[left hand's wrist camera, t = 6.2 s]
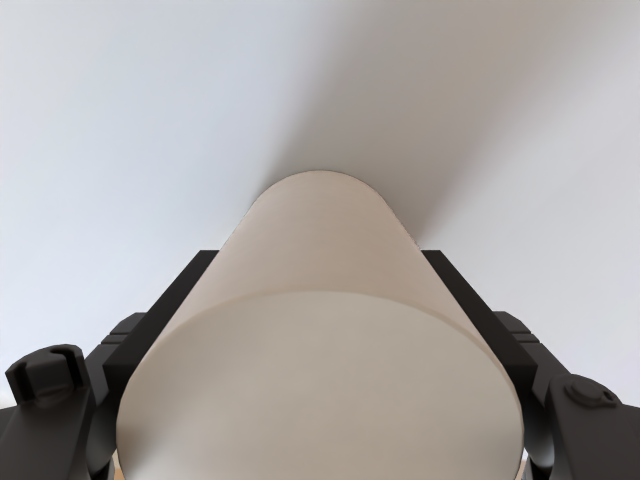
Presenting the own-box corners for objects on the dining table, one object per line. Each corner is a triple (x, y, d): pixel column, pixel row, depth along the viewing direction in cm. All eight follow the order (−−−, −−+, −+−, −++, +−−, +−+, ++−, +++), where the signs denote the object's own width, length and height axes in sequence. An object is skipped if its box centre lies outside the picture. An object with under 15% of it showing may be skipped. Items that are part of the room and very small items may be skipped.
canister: (259, 148, 15) (135, 228, 5) (424, 196, 16) (611, 352, 6) (226, 297, 18) (99, 553, 8) (369, 332, 19) (431, 609, 8)
